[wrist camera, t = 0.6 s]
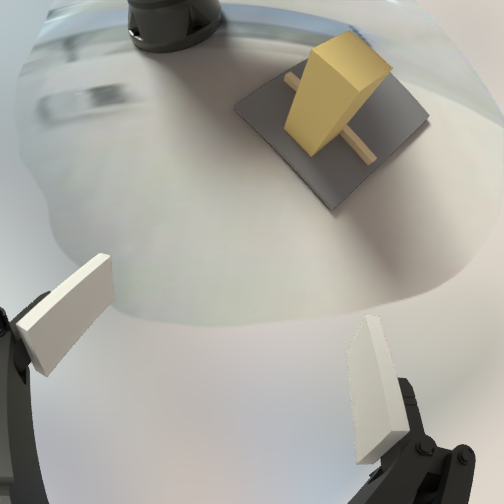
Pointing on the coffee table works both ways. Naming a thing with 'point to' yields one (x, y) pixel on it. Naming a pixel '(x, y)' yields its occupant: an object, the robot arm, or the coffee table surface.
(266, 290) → the coffee table surface
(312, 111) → the mustard block
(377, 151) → the tipping mat
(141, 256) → the coffee table surface
